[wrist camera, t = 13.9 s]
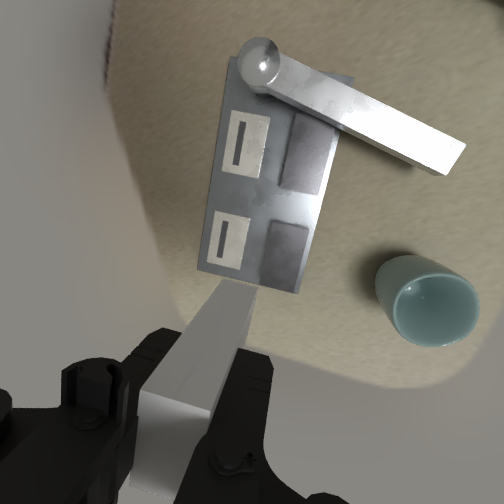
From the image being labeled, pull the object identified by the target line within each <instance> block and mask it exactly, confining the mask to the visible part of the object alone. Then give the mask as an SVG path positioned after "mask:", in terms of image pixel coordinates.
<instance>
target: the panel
mask: <svg viewBox="0 0 504 504" xmlns="http://www.w3.org/2000/svg"><path fill="white" fill-rule="evenodd" d="M237 60H238V58H237V57H231V56H230V61H229V68H228V74H227V81H226V87H225V93H224V100H223V106H222V113H221V119H220V126H219V132H218V139H217V145H216V151H215V158H214V164H213V171H212V177H211V184H210V190H209V196H208V203H207V209H206V216H205V222H204V229H203V235H202V241H201V248H200V254H199V261H198V267H197V270H200V271H204V272H208V273H212V274H216V275H220V276H224V277H229V278H233V279H237V280H241V281H245V282H249V283H253V284H257V285H261V286H266V287H270V288H274V289H278V290H282V291H286V292H290V293H294V294H298V292H299V288H300V285H301V281H302V277H303V273H304V269H305V265H306V261H307V258H308V254H309V250H310V246H311V242H312V238H313V235H314V231H315V227H316V223H317V219H318V215H319V211H320V208H321V204H322V200H323V196H324V192H325V188H326V185H327V181H328V177H329V173H330V169H331V165H332V162H333V158H334V154H335V150H336V146H337V142H338V138H339V135H340V131H341V129H339V128H337V127H335V126H333V125H331V124H329V123H327V122H325V121H323V120H321V119H319V118H317V117H315V116H313V115H311V114H309V113H307V112H305V111H303V110H301V109H299V108H297V107H295V106H293V105H291V104H289V103H287V102H285V101H283V100H281V99H279V98H277V97H275V96H273V95H271V94H269V93H262V94H260V93H255V92H253V91H251V90H250V89H249V88H248V87H247V86H246V84H245V82H244V80H243V78H242V76H241V75H240V73H239V70H238V64H237ZM318 72H320V73H322V74H324V75H326V76H328V77H330V78H332V79H334V80H336V81H338V82H340V83H343V84H345V85H347V86H349V87H351V88H352V85H353V81H354V77H351V76H345V75H339V74H333V73H327V72H321V71H318Z"/></svg>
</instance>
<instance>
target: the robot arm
mask: <svg viewBox="0 0 504 504" xmlns="http://www.w3.org/2000/svg"><path fill="white" fill-rule="evenodd" d="M257 291H258V287H254V286H250V285H246V284H242V283H238V282H235V281H231V280H227V279H223V280H222V281H221V283H220V284H219V285H218V287H217V288H216V289H215V291H214V292H213V293H212V295H211V296H210V297H209V299H208V300H207V301H206V303H205V304H204V305H203V306H202V308H201V309H200V310H199V312H198V313H197V314H196V316H195V317H194V318H193V320H192V321H191V322H190V324H189V325H188V326H187V328H186V329H185V330H184V332H183V333H181V332H177V331H174V330H170V329H166V328H161V329H159V330H156V331H154V332H152V333H150V334H149V335H147V337H146V338H145V339H144V340H143V341H142V342H141V343H140V344H139V346H137V347H136V348H135V349H134V350H133V351H132V352H131V354H130V355H128V356H127V357H126V358H125V359H124V360H123V361H122V362H118V361H117V360H114V359H109V358H102V357H100V358H91V359H85V360H82V361H79V362H76V363H73V364H71V365H70V366H68V367H67V368H65V369H63V370H62V373H61V374H62V375H61V377H62V378H61V405H60V406H59V407H57V408H12V398H11V396H10V395H9V393H8V392H7V391H5V390H3V389H0V504H117V502H118V491H119V489H120V488H121V486H122V484H123V482H124V481H125V479H126V477H127V475H128V474H129V472H130V470H131V473H130V482H129V486H132V487H135V488H138V489H140V490H143V491H146V492H149V493H152V494H155V495H158V496H161V497H163V498H166V499H169V500H172V501H174V503H173V504H349V503H347V502H346V501H344V500H343V499H342V498H340V497H339V496H335V495H331V494H328V493H325V492H324V493H317V494H311V495H310V496H309V497H308V498H307V499H305V498H303V497H302V496H301V495H299V494H298V493H297V492H295V491H294V490H292V489H291V488H290V487H288V486H287V485H286V484H285V483H283V482H282V481H281V480H280V479H279V478H278V477H277V476H276V475H275V473H274V472H273V471H272V469H271V468H270V466H269V464H268V462H267V460H266V458H265V454H264V449H263V439H264V433H265V426H266V418H267V412H268V405H269V398H270V391H271V383H272V376H273V370H274V368H273V366H272V363H271V361H270V358H269V356H266V355H263V354H259V353H256V352H252V351H249V350H245V349H244V346H245V343H246V339H247V335H248V330H249V326H250V321H251V317H252V313H253V308H254V304H255V300H256V295H257Z"/></svg>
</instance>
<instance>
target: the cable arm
mask: <svg viewBox="0 0 504 504" xmlns="http://www.w3.org/2000/svg"><path fill="white" fill-rule="evenodd" d="M237 64H238V70H239V73H240V75H241V76H242V78H243V80H244V82H245V84H246V86H247V87H248V88H249V89H250V90H251V91H253V92H255V93H260V94H262V93H269V94H271V95H273V96H275V97H277V98H279V99H281V100H283V101H285V102H287V103H289V104H291V105H293V106H295V107H297V108H299V109H301V110H303V111H305V112H307V113H309V114H311V115H313V116H315V117H317V118H319V119H321V120H323V121H325V122H327V123H329V124H331V125H333V126H335V127H337V128H339V129H341V130H343V131H345V132H347V133H349V134H351V135H353V136H355V137H357V138H359V139H361V140H363V141H365V142H367V143H369V144H371V145H373V146H375V147H377V148H379V149H381V150H383V151H385V152H387V153H389V154H391V155H393V156H395V157H397V158H399V159H401V160H403V161H405V162H407V163H409V164H411V165H413V166H415V167H417V168H419V169H421V170H423V171H425V172H427V173H429V174H431V175H433V176H442V175H447V173H448V172H449V170H450V169H451V167H452V166H453V164H454V163H455V161H456V160H457V158H458V157H459V155H460V154H461V152H462V151H463V149H464V148H465V146H466V144H464V143H462V142H460V141H458V140H456V139H454V138H452V137H450V136H448V135H446V134H444V133H442V132H440V131H438V130H436V129H434V128H432V127H430V126H428V125H426V124H424V123H422V122H420V121H418V120H415V119H413V118H411V117H409V116H407V115H405V114H403V113H401V112H399V111H397V110H395V109H393V108H391V107H389V106H387V105H385V104H383V103H381V102H379V101H377V100H375V99H373V98H371V97H369V96H367V95H365V94H363V93H361V92H359V91H357V90H355V89H353V88H351V87H349V86H347V85H345V84H343V83H340V82H338V81H336V80H334V79H332V78H330V77H328V76H326V75H324V74H322V73H320V72H318V71H316V70H314V69H312V68H310V67H308V66H306V65H304V64H302V63H300V62H298V61H296V60H294V59H292V58H290V57H288V56H286V55H284V54H282V53H280V52H279V51H278V48H277V46H276V45H275V44H274V43H273V42H272V41H271V40H270V39H268V38H266V37H254V38H252V39H250V40H248V41H247V42H246V43H245V44H244V45H243V46H242V48H241V50H240V52H239V55H238V60H237Z"/></svg>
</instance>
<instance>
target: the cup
mask: <svg viewBox="0 0 504 504" xmlns="http://www.w3.org/2000/svg"><path fill="white" fill-rule="evenodd" d="M375 291H376V295H377V298H378V301H379V303H380V306H381V307H382V309H383V311H384V312H385V314H386V316H387V317H388V319H389V320H390V322H391V323H392V325H393V326H394V328H395V329H396V331H397V332H398V333H399V334H400V335H401V336H402V337H403V338H404V339H406V340H408V341H409V342H411V343H413V344H416V345H420V346H426V347H440V346H446V345H450V344H453V343H456V342H458V341H460V340H462V339H463V338H465V337H466V336H467V335H468V334H469V333H470V332H471V331H472V330H473V328H474V326H475V325H476V323H477V320H478V317H479V309H480V307H479V299H478V295H477V293H476V291H475V289H474V287H473V286H472V285H471V284H470V283H469V282H468V281H467V280H466V279H465V278H463V277H462V276H460V275H458V274H457V273H455V272H453V271H452V270H450V269H448V268H447V267H445V266H443V265H441V264H439V263H437V262H435V261H433V260H431V259H428V258H425V257H421V256H415V255H402V256H397V257H394V258H391V259H389V260H387V261H386V262H384V263H383V264H382V265H381V266H380V268H379V269H378V271H377V274H376V278H375Z"/></svg>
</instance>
